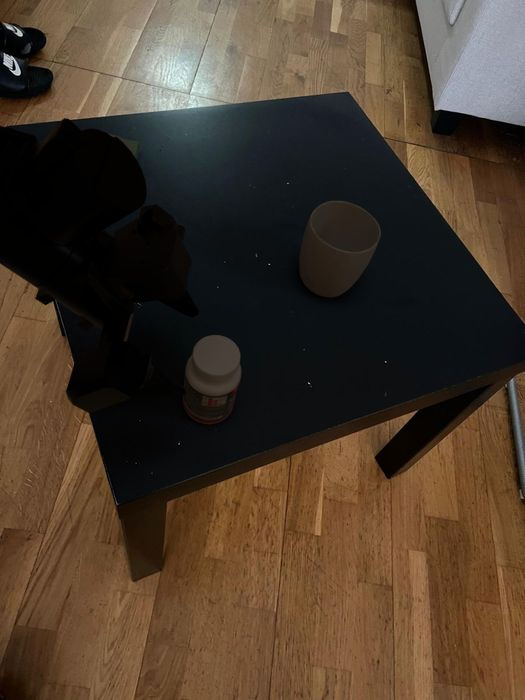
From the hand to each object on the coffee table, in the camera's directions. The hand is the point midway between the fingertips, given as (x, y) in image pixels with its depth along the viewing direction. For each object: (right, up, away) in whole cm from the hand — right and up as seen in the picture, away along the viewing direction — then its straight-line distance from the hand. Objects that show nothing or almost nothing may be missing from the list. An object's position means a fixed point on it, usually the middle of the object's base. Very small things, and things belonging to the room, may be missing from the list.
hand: (189, 352), depth 52 cm
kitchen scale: (-16, +27, +27) cm, 41 cm away
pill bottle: (+1, -6, +8) cm, 10 cm away
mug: (+16, +11, +23) cm, 30 cm away
